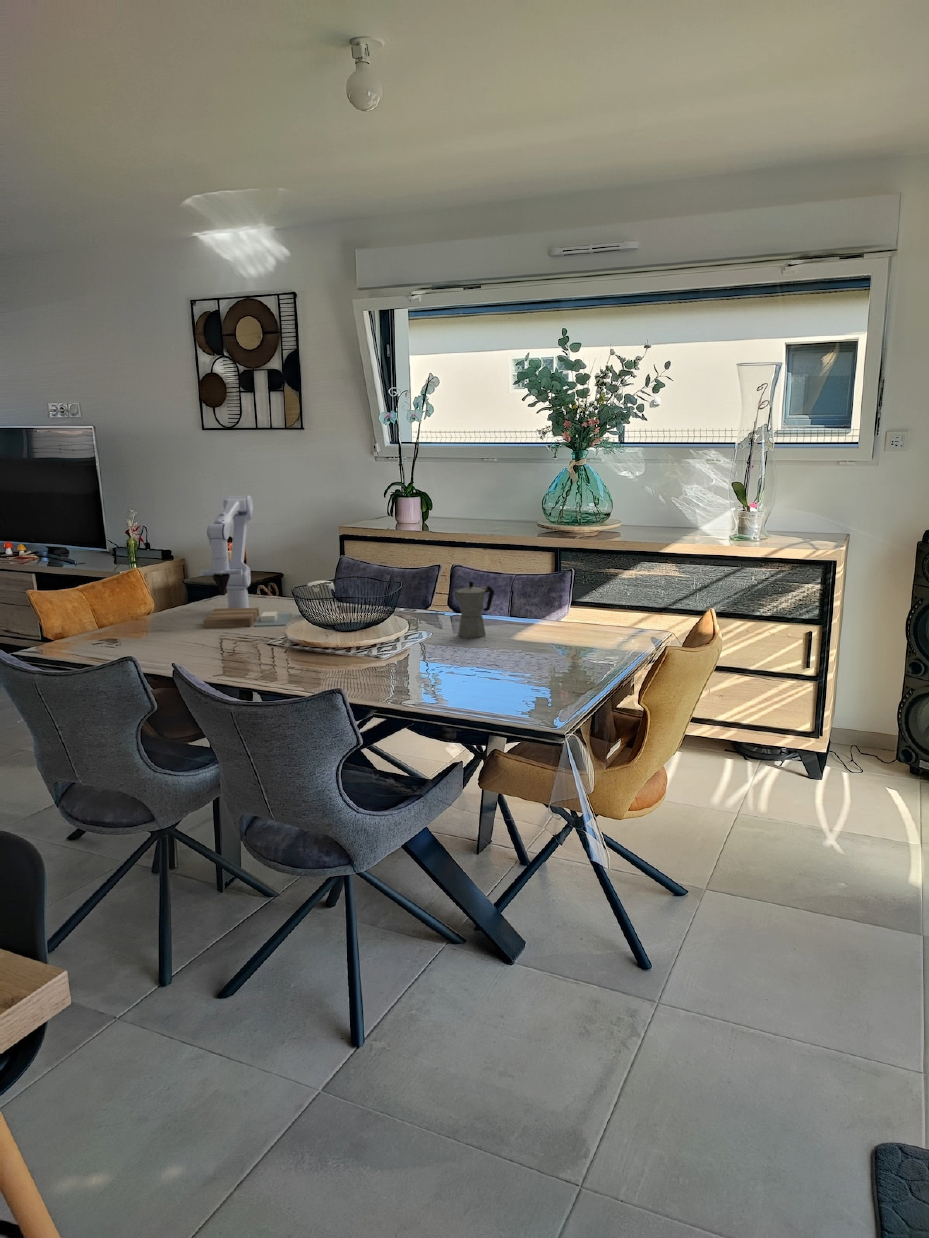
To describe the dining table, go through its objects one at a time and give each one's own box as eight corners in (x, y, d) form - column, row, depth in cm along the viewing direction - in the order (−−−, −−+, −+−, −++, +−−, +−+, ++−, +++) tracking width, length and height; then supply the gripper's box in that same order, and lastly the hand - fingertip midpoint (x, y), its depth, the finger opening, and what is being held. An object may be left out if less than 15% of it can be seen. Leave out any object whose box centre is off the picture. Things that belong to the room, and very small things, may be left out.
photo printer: (334, 611, 329) (332, 578, 326) (336, 613, 325) (334, 580, 322) (306, 613, 325) (305, 580, 322) (308, 615, 321) (306, 582, 318)
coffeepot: (462, 640, 282) (461, 585, 278) (447, 634, 290) (446, 581, 286) (501, 633, 290) (501, 580, 286) (486, 628, 298) (485, 576, 294)
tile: (277, 611, 318) (277, 616, 318) (263, 612, 318) (264, 617, 318) (274, 615, 311) (274, 621, 312) (260, 616, 311) (260, 621, 311)
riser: (215, 616, 323) (214, 608, 322) (259, 615, 324) (258, 607, 323) (204, 628, 305) (203, 619, 304) (250, 626, 306) (250, 618, 305)
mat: (261, 615, 324) (261, 614, 323) (291, 614, 324) (291, 613, 324) (253, 626, 306) (253, 625, 306) (285, 625, 307) (285, 624, 307)
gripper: (196, 559, 307) (200, 597, 310) (238, 558, 307) (241, 596, 310) (201, 556, 313) (204, 593, 316) (242, 555, 314) (245, 592, 317)
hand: (223, 595), depth 314 cm, fingers closed
